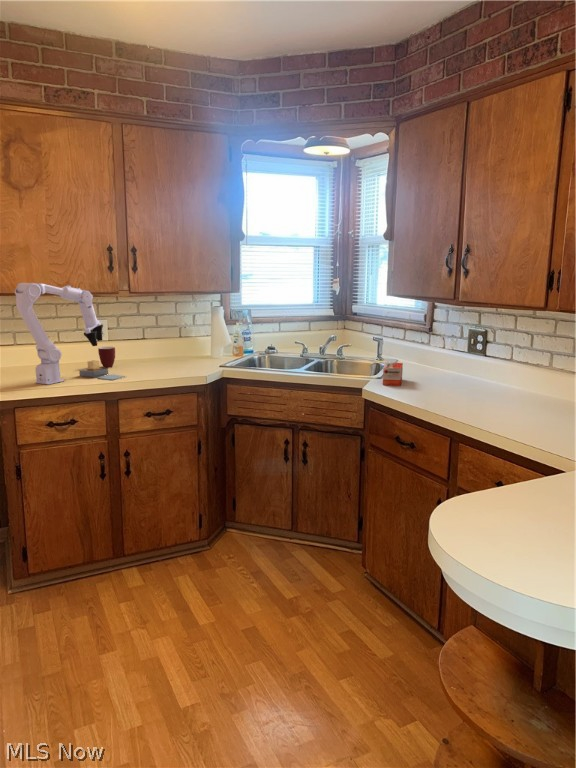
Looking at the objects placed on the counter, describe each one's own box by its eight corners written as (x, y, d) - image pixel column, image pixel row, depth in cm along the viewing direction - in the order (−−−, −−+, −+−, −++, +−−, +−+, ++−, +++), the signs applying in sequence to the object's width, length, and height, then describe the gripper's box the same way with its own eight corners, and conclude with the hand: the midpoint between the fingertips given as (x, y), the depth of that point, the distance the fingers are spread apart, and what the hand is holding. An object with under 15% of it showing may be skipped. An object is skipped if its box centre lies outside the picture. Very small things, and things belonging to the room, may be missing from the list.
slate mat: (112, 380, 247) (112, 379, 247) (97, 378, 251) (97, 377, 250) (126, 376, 255) (126, 376, 254) (111, 375, 258) (111, 374, 258)
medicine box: (384, 378, 252) (384, 361, 250) (402, 379, 250) (402, 362, 249) (382, 385, 237) (383, 367, 236) (401, 386, 236) (402, 368, 234)
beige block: (94, 376, 255) (93, 361, 254) (88, 376, 257) (87, 361, 255) (99, 375, 258) (98, 360, 257) (94, 374, 260) (93, 360, 258)
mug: (105, 364, 286) (104, 345, 284) (120, 365, 285) (119, 346, 283) (96, 368, 276) (95, 348, 274) (112, 368, 275) (110, 349, 273)
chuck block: (94, 378, 251) (93, 371, 251) (79, 376, 255) (79, 370, 255) (108, 374, 259) (108, 368, 259) (94, 373, 263) (93, 367, 263)
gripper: (92, 318, 246) (101, 347, 252) (102, 310, 260) (110, 337, 265) (77, 321, 247) (86, 349, 252) (87, 312, 260) (96, 339, 265)
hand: (97, 343), depth 258 cm, fingers open, 7 cm apart
